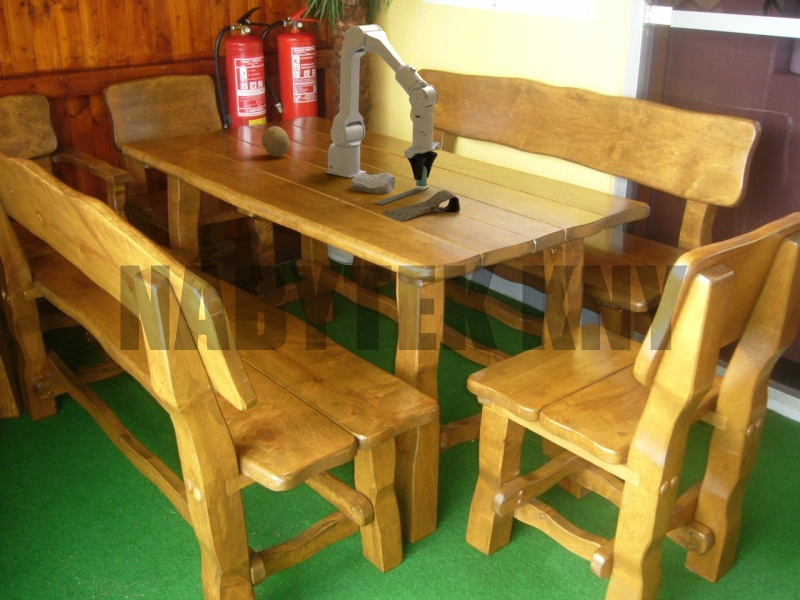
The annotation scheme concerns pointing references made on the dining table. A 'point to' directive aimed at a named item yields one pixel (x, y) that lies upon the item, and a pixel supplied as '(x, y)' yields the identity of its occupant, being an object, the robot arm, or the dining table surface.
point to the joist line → (401, 195)
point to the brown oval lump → (276, 141)
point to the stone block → (373, 182)
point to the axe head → (426, 207)
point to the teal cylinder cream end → (424, 179)
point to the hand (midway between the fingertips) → (421, 178)
